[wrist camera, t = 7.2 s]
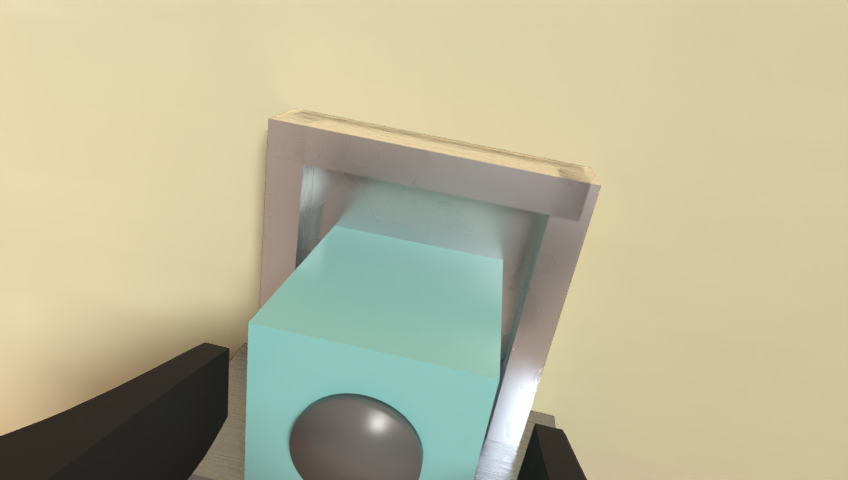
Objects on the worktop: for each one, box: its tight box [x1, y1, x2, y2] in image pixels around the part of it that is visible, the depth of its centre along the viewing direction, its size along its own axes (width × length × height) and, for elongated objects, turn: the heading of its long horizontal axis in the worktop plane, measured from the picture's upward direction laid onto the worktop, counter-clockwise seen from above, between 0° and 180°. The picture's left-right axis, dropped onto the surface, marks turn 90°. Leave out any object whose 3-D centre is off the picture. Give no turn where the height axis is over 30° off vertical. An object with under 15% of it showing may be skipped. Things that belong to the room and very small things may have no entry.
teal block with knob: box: [244, 226, 503, 480], centre depth 13 cm, size 5×5×6 cm
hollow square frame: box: [188, 109, 601, 480], centre depth 15 cm, size 12×16×6 cm
